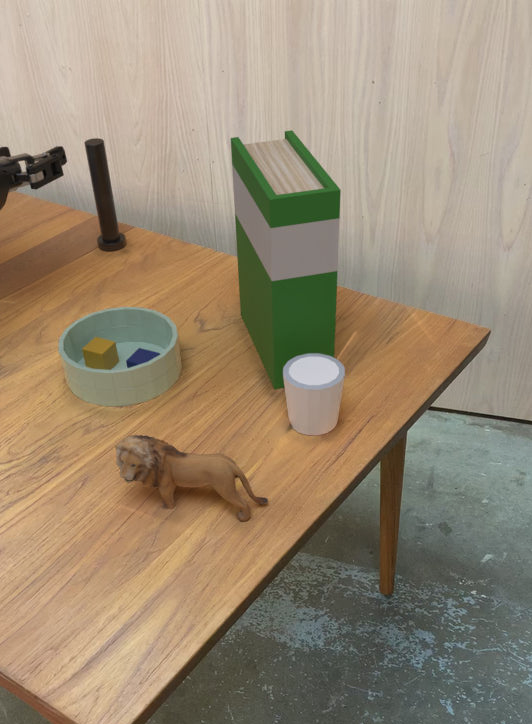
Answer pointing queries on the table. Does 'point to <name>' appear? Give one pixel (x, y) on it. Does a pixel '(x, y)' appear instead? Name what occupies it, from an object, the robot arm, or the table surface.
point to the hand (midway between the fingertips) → (35, 154)
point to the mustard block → (100, 354)
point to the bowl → (122, 356)
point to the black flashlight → (103, 196)
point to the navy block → (140, 357)
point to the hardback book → (285, 250)
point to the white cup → (313, 392)
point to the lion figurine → (181, 471)
